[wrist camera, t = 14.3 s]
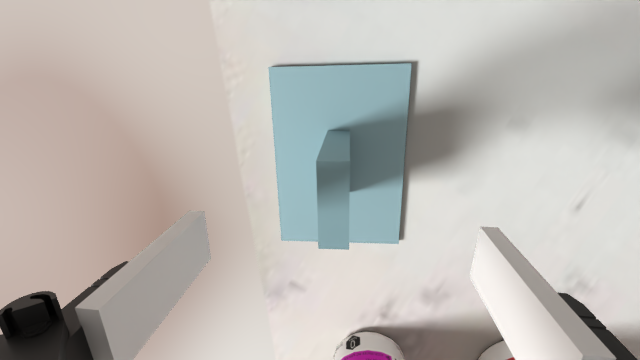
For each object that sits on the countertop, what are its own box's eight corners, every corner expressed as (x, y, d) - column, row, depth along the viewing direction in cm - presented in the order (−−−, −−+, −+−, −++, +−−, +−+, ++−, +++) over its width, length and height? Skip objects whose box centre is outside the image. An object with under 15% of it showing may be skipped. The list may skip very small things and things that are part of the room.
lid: (271, 67, 27) (222, 64, 17) (409, 63, 26) (449, 57, 15) (283, 235, 33) (252, 311, 22) (396, 238, 31) (420, 319, 21)
